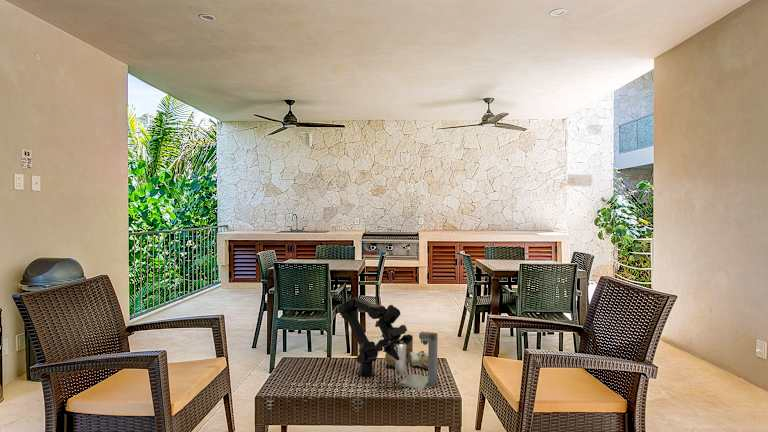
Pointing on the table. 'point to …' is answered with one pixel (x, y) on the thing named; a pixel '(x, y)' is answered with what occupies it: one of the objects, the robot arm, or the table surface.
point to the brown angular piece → (408, 349)
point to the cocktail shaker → (400, 358)
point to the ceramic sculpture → (419, 359)
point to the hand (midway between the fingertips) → (402, 359)
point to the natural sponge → (390, 359)
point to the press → (431, 379)
